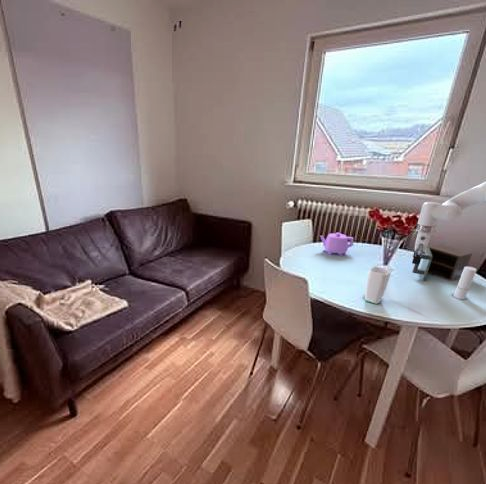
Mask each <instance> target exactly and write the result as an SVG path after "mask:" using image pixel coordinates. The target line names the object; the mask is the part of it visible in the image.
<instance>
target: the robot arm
mask: <svg viewBox="0 0 486 484" xmlns="http://www.w3.org/2000/svg"><path fill="white" fill-rule="evenodd" d="M482 203H486V181H483V182H482V183H480V184H478V185H476V186H474V187H471V188H469V189H468V190H465V191H463V192H459V194H456V195H455V196H453V197H451V198H449V199H448V200H446V201H444V202H443V203H440V202H435V201H426V202H424V203H423V204H422V206H421V210H420V213H419V217H418V220H417V224H416V227H415V231H416V232H417V235H416V239H415V243H414V252H413V255H412V261H411V263H412V265H415V264H418V265H419V266H420V265H421V261H422V259H421V258H422V257H421V256H422V254H423V253H424V254H425V253H426V250H427V248H428V246H429V242H430V239H431V235H432V234H433V233H435V230H436V227H437V223H438V220H442V221H445V222H454V221H457V220H459V219H460V218H461V216H462V214H463V211H464V210H465V209H468V208H469V207H472V206H474V205H477V204H482Z"/></svg>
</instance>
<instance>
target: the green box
mask: <svg viewBox="0 0 486 484" xmlns="http://www.w3.org/2000/svg"><path fill="white" fill-rule="evenodd" d="M421 257H422V258H421V260H422V262H421V264H419V265H418V264H413V265H414V266H413V269H412V273H413V274H418V275H420V279H421V280H422V281H423V282H425V281H426V279H427V274H428V273H427V272H428V269H429V266H430V263H431V260H432V254H431V251H430V249H429V247H427V250H426V252H425V253H424V254H423V253H422V256H421ZM419 266H420V268H419Z"/></svg>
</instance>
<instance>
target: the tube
mask: <svg viewBox="0 0 486 484" xmlns="http://www.w3.org/2000/svg"><path fill="white" fill-rule="evenodd" d="M477 270H478V269H477V268H476V267H473V266H467V267H464V270H463V272H462V275H461V278H459V281H458V283H457V285H456V288H455V291H454V294H453V297H454V298H456V299H458V300H459V299H460V300H466V297H467V295H468V293H469V290H470V287H471V285H472V284H473V283H472V282H473V280H474V278H475V275H476V273H477Z"/></svg>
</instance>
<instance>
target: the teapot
mask: <svg viewBox="0 0 486 484" xmlns="http://www.w3.org/2000/svg"><path fill="white" fill-rule="evenodd" d="M319 238H320V240H321V242H322V244H323V246H324V250H325V252H327V254H328V255H333V254H338V255H339V256H343V254H346V253H347V252H348V250H349V248H352V247H353V246H354V237H353V236H347V235H346V234H344V233H341V232H335V233H328V234H327V237H326V238H325V237H324V235H319ZM348 241H349V242H348Z"/></svg>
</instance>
